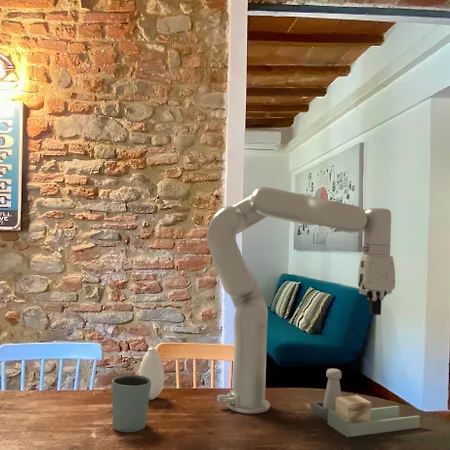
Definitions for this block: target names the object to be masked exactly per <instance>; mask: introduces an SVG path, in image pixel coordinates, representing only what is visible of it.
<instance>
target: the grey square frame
mask: <svg viewBox="0 0 450 450" xmlns="http://www.w3.org/2000/svg"><path fill="white" fill-rule="evenodd" d="M323 402H324V400H322V401H313V402H310V412H311V413H313V414H315V415H316V416H318V417H319V418H321V419H322V418H323V419H322V420H324V421H325V420H326V421H325V422H327V421H328V410H326V409H324V408H323Z"/></svg>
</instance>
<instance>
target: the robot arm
mask: <svg viewBox="0 0 450 450" xmlns="http://www.w3.org/2000/svg"><path fill="white" fill-rule="evenodd" d="M267 217H270V218H274V219H279V220H284V221H287V222H292V223H297V224H302V225H315V226H320V227H326V228H331V229H336V230H339V231H342V232H344V233H347V234H348V233H349V234H353V233H360V232H361V233H362V232H363V246H361V247H360V251H361V252H362V253H363V254H362V255H361V257H360V260H359V265H358V277H357V285H358V288H359V289H358V293H359V294H361V295H365V296H366V298H367V300H368V302H369V303H368V307H369V308H368V312H369V314H370V315H375V316H380V315H381V312H382V302H383V301H384V298H385V297H386V296H388V295H390V294H392V293H393V290H394V289H395V288H396V269H395V262H394V257H393V256H392V255H391V237H392V236H391V235H392V212H391V210H390V209H388V208H379V207H378V208H377V207H375V208H374V207H373V208H372V207H371V208H367V209H363V208H361V207H360V206H357V205H353V204H348V203H346V202H345V203H344V202H340V201H336V200H335V201H334V200H329V199H325V198H319V197H316V196H311V195H307V194H301V193H299V192H298V193H297V192H292V191H287V190H283V189H280V188H279V189H278V188H274V187H269V186H260V187H259V186H258V188H256V189H254V190H253V191H252V193H251V195H249V196H248V197H246V198H244V199H243V200H241V201H238V203H236V204H234V205H227V206H224V207H222V208H221V209H219V210H218V211H217V212H216V213H215V214H214V215H213V217H212V219H211V220H210V222H209V224H208V227H207V230H206V231H207V232H206V242H207V246H208V249H209V252H210V254H211V255H210V256H211V258H212V260H213V262H214V266H215V269H216V271H217V274H218V276H219V278H220V281H221V285H222V287H223V290H224V291H225V293H226V294H227V295H229V296H230V299H231V301H232V303H233V306H234V308H235V313H234V317H233V318H234V320H233V323H234V324H233V330H234V334H233V335H234V337H233V339H234V344H233V377H232V378H233V379H232V380H233V381H232V383H233V384H232V389H229V392H228V393H227V394H217V396H216V400H217V402H219V403H220V402H224V404H226V405H227V408H228V409H229V410H231V411H234V412H237V413H241V414H255V415H256V414H262V413H265V412H268V411H269V410H270V408H271V403H270V402H269V401H268V400H266V372H267V369H266V368H267V340H268V338H267V337H268V314H269V313H268V312H269V310H268V306H267V303H266V301H265V298H264V296H263V294H262V293H263V292H262V291H261V289H260V286H259V283H258V282H257V280H256V277H255V275H254V272H253V271H252V270H251V269H250V268H249V266H247V265H246V262H245V261H244V258H243V255H242V252H241V250H240V247H239V246H238V242H237V235H238V234H240V233H242V232H244V231H245V230H247V229H248V228H250V227H252V226H254V225H256V224H258V223H259V222H261V221H263V220H265V218H267Z"/></svg>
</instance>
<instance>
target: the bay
mask: <svg viewBox="0 0 450 450" xmlns="http://www.w3.org/2000/svg"><path fill="white" fill-rule="evenodd" d="M420 419H421V416H420V415H412V416H411V415H410V416H404V417H403V416H401V415H400V406H399V405H392V406H390V405H389V406H383V407H372V409H371V418H370V421H368V422H360V423H352V424H351V421H350V420H348V419H346V418H345V417H343V416H341V415H340V414H338V413H336V412H335V411H333V410H331V409H330V410H328V422H327V425H328V426H329V425H330V426H329V427H331V428H332V427H333V428H332V429H334V430H335V431H337V432H338V433H340V434H341V435H343V436H344V435H345V437H346V438H350V437H357V436H364V435H365V436H366V435H373V434H381V433H388V432H396V431H403V430H405V431H406V430H412V429H417V428H420V427H421V425H420V424H421V422H420Z"/></svg>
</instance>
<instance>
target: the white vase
mask: <svg viewBox="0 0 450 450" xmlns="http://www.w3.org/2000/svg"><path fill="white" fill-rule="evenodd" d="M163 364H164V363H163V361H162V358H161V356H160V354H159V352H158V351H157V348H156V347H154V340H153V339H151V346H150V347H148V349H147V351H146V353H145V354H144V356H143V358H142V360H141V362H140V366H139V370H138V374H137V375H139V376H144V377H148V378H150V379H151V387H150V393H149V401H150V400H152V401H153V400H154V399H156V398H157V396H159V395H160V393H161V392H162V390H163V387H164V382H165V370H164V365H163Z"/></svg>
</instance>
